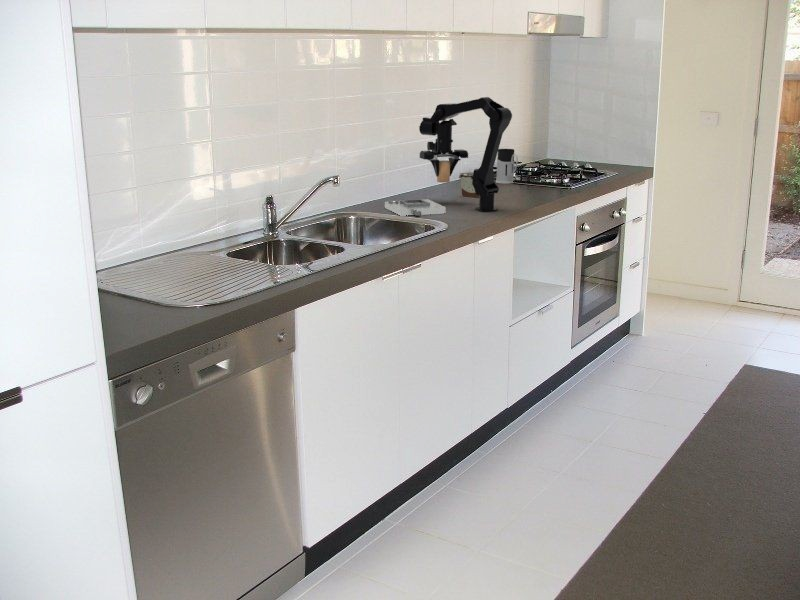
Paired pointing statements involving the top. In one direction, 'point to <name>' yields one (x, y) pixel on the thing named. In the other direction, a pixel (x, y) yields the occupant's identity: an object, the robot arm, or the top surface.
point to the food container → (467, 186)
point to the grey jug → (506, 166)
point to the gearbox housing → (414, 207)
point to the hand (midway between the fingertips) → (443, 176)
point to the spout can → (444, 171)
